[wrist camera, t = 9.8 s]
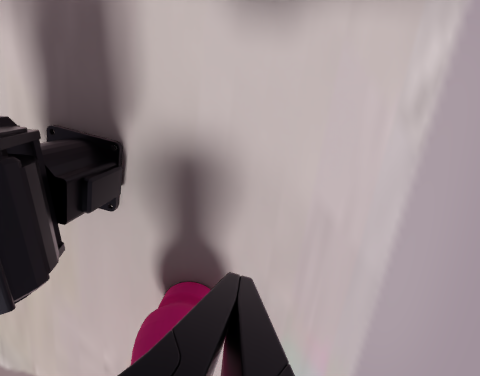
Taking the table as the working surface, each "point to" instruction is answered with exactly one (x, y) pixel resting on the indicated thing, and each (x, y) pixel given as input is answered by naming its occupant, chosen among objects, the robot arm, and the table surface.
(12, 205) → the robot arm
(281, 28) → the table surface
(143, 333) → the pepper mill
